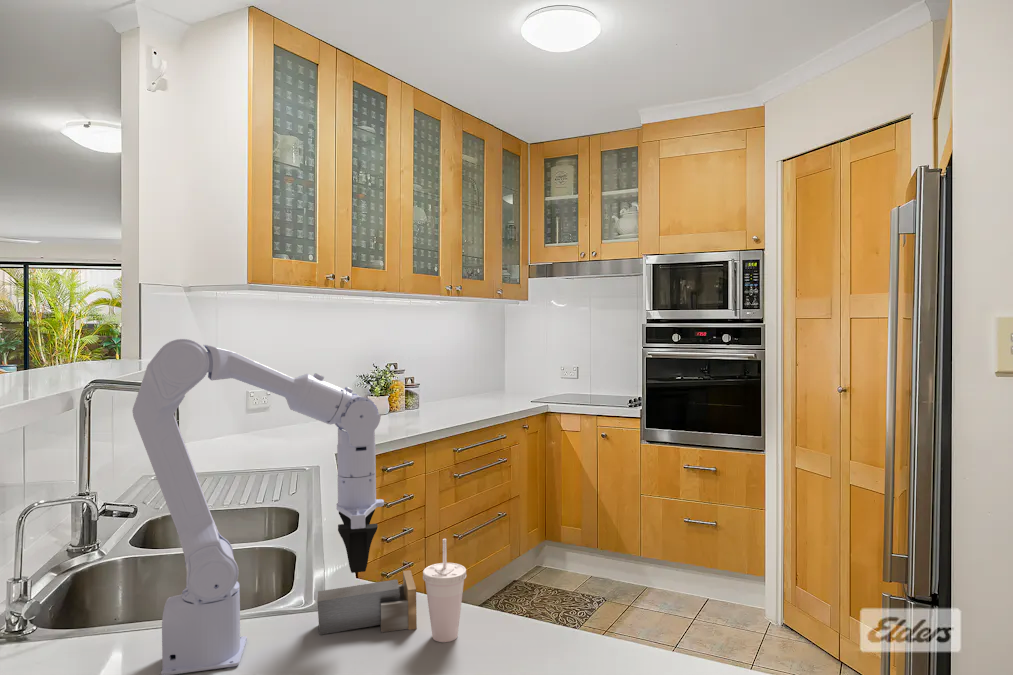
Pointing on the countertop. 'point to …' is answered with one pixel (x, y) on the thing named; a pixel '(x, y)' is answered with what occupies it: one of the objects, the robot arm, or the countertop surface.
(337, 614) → the grey rectangular block
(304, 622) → the countertop surface
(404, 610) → the bracket
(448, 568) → the smoothie
